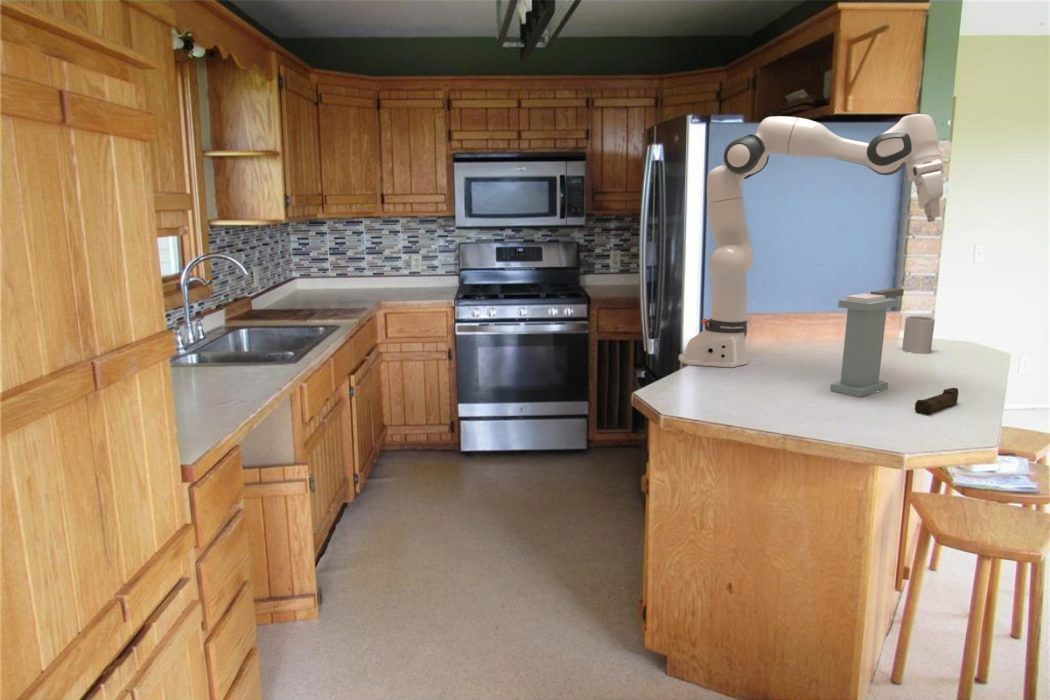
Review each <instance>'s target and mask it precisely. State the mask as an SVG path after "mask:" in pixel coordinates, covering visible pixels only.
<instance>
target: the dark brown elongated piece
mask: <svg viewBox="0 0 1050 700" xmlns="http://www.w3.org/2000/svg"><path fill="white" fill-rule="evenodd" d="M958 398H959V389H958V388H957V387H950V388H946V389H944V390H943V391H942V393H941V394H938V395H935V396H931V397H928V398H924V399H917V400H916V402H915V403H914V411H915V412H916V414H920V413H921V415H924V414H927V415H926V416H928V415H930V414H932V413H933V412H934V411H937V410H940V409H943V408H946V407H948V406H949V408H952V407H954V406H956V404H957V403H958V400H959V399H958Z"/></svg>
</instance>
